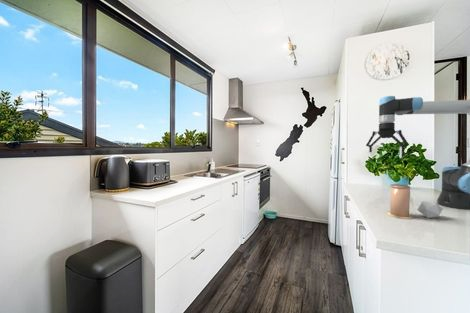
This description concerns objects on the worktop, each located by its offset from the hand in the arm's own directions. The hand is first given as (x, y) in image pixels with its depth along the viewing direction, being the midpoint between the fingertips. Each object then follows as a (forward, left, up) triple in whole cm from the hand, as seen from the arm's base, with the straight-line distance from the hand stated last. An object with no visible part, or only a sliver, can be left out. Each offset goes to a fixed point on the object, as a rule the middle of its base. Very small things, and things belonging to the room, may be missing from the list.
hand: (385, 157), depth 118 cm
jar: (-5, +20, -28) cm, 35 cm away
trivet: (-5, +20, -29) cm, 35 cm away
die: (-17, +15, -29) cm, 37 cm away
